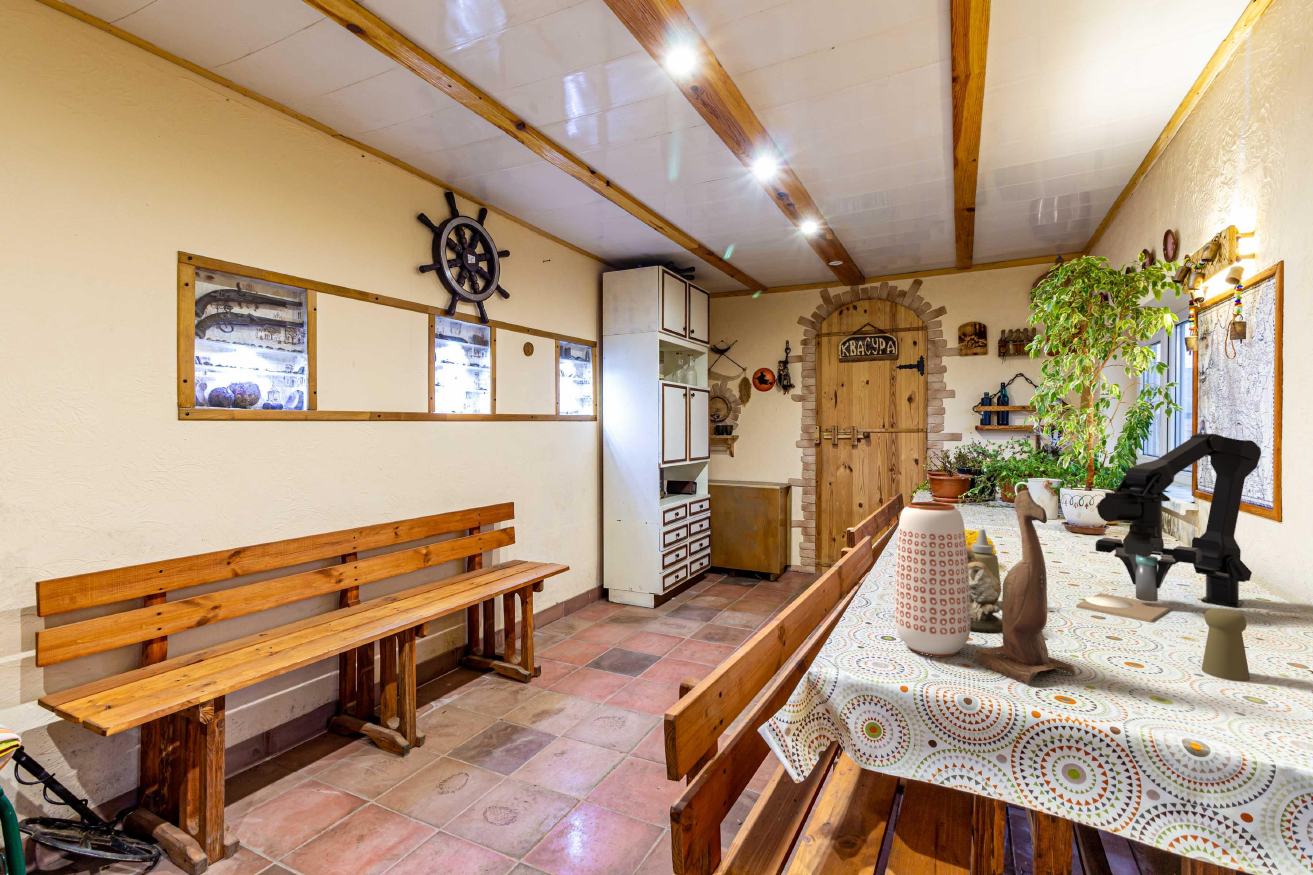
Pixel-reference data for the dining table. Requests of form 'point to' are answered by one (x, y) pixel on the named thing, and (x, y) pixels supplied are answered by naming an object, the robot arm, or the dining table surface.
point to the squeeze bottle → (986, 555)
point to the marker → (1146, 578)
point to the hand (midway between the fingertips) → (1146, 586)
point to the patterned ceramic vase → (932, 579)
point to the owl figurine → (982, 597)
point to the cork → (1225, 645)
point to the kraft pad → (1125, 607)
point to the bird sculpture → (1024, 606)
